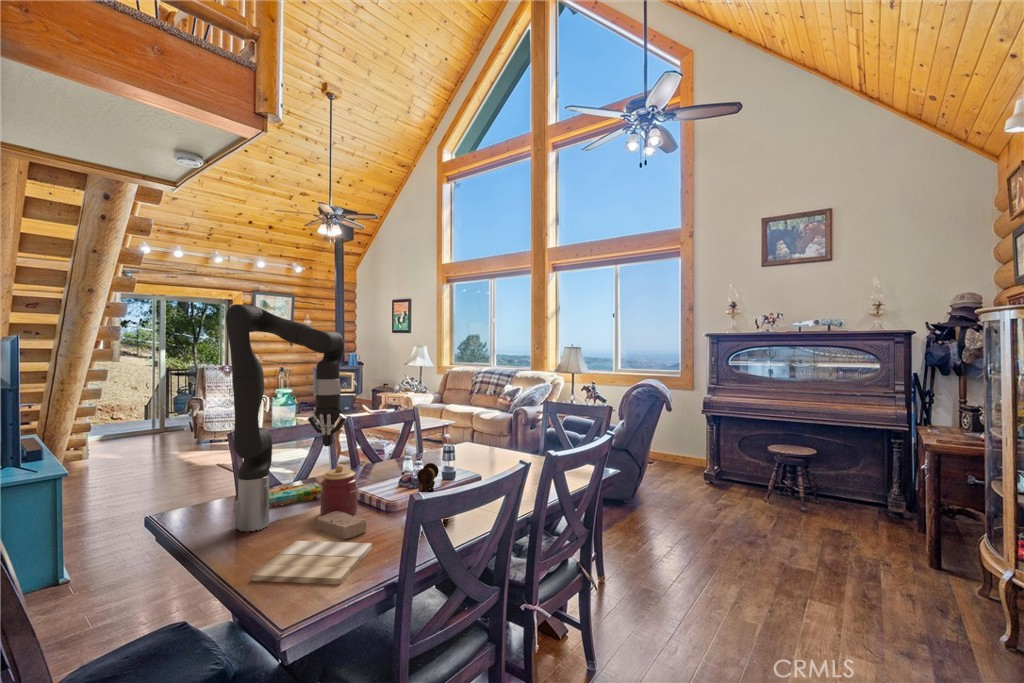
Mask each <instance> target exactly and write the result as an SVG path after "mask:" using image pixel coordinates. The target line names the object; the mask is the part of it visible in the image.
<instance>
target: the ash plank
mask: <svg viewBox="0 0 1024 683" xmlns="http://www.w3.org/2000/svg"><path fill="white" fill-rule="evenodd" d="M372 548H373V543H372V542H370V543H369V542H345V541H343V542H342V541H314V540H313V541H312V540H295V541H294V542H292V543H291V544H290V545H289V546H288V547H286V548H284V550H282V551H281V552H280V553H279V555H306V556H333V557H359V563H361V561H362V560H363V559H364V558H365V557H367V554H368V553H369V552H370V551H371V550H372Z"/></svg>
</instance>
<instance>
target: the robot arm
mask: <svg viewBox="0 0 1024 683" xmlns="http://www.w3.org/2000/svg"><path fill="white" fill-rule="evenodd" d="M225 324H226V330H227V331H226V332H227V336H228V342H229V348H230V359H231V360H230V361H231V374H232V375H231V378H232V379H231V380H232V381H231V382H232V390H233V393H232V394H233V406H234V407H233V408H234V431H233V449H234V451H235V454H236V455H237V456H238V457H239V458H241V459H242V460H243V461H242V463H241V466H240V467H239V469H238V472H237V485H238V486H237V487H238V488H237V494H238V495H237V496H238V497H237V500H235V504H234V511H235V512H234V513H235V514H234V523H235V524H234V525H235V527H234V528H235V529H238V530H237V531H239V530H240V531H239V532H241V531H246V532H245V533H248V532H247V531H253V532H256V531H255V530H258V531H261V530H264V529H266V528H268V527H269V526H270V505H269V490H270V468H271V465H272V462H273V461H272V459H273V458H272V457H273V456H272V455H273V440H272V435H271V433H270V431H269V430H268V429H266V428H263V427H260V425H259V412H260V408H261V404H262V400H263V399H264V398H263V397H264V392H265V376H264V369H263V366H262V364H261V362H260V361H259V359H258V357H257V356H256V354H255V352H254V350H253V348H252V346H251V336H250V333H254V332H259V333H260V332H261V333H267V334H268V333H269V334H272V335H275V336H276V337H279V338H280V339H282V340H284V341H286V342H289V343H291V344H295V345H299V346H301V347H305V348H307V349H308V350H311V351H313V352H316V353H319V354H320V353H321V354H323V357H322V360H319V362H317V364H316V382H315V411H314V414H313V415H312V416H310V417H308V418H307V421H308V422H309V423H310V425H311V426H312V428H314V430H315V431H316V433H317V434H320V435H322V445H324V446H323V447H330V446H332V445H333V443H334V434H336V433H338V432H340V431H341V429H342V428H343V426H345V424H346V423H347V421H349V418H348V416H344V415H343V414H342V410H341V391H342V390H341V380H340V374H341V373H340V366H341V361H342V358H343V354H344V348H345V342H344V338H343V336H342V335H341V334H340V333H339V332H338V331H326V330H320V329H317V328H315V327H314V326H311V325H308V324H304V323H301V322H299V321H295V320H290V319H287V318H283V317H280V316H278V315H275V314H273V313H271V312H269V311H267V310H265V309H264V308H261V307H259V306H257V305H251V304H233V305H231V306H229V308H228V309H227V311H226V314H225ZM337 421H338V422H337ZM336 422H337V424H336ZM268 525H269V526H268ZM265 527H266V528H265ZM263 528H264V529H263ZM260 529H261V530H260Z"/></svg>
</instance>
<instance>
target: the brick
mask: <svg viewBox="0 0 1024 683" xmlns="http://www.w3.org/2000/svg"><path fill="white" fill-rule="evenodd" d="M316 520H317V522H316V527H317V528H316V529H317V530H318V529H319V530H318V531H320V530H322V531H321V532H324V531H325V532H324V533H326V534H329V535H330V536H334V537H336V538H339V539H343V540H346V539H351V538H355V537H357V536H360V535H361V534H364V533H366V532H367V520H366V519H365V518H363V517H359V516H354V515H349V514H346V513H343V512H340V511H335V512H331V513H329V514H326V515H323V516H321V515H320V516H318V517H317V519H316Z"/></svg>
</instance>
